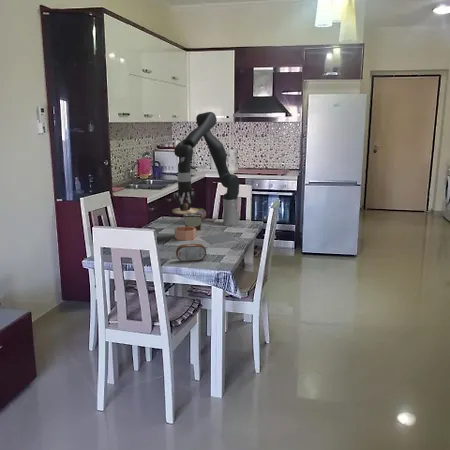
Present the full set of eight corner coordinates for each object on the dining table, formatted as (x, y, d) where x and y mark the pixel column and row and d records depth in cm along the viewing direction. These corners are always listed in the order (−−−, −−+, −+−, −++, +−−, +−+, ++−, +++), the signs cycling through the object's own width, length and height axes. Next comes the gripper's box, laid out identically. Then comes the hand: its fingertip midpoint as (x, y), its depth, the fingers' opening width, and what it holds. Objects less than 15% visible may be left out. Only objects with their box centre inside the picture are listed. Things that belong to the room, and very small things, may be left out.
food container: (204, 228, 295) (204, 212, 292) (202, 230, 289) (202, 215, 286) (185, 227, 296) (184, 212, 294) (183, 230, 290) (183, 214, 288)
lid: (192, 207, 277) (191, 200, 276) (202, 212, 264) (202, 204, 263) (168, 210, 270) (168, 202, 269) (178, 215, 257) (177, 206, 256)
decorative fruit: (208, 220, 314) (208, 206, 312) (202, 223, 307) (202, 208, 305) (197, 219, 319) (197, 205, 317) (190, 221, 312) (190, 207, 310)
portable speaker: (206, 259, 233) (205, 243, 231) (206, 261, 230) (206, 244, 228) (176, 260, 231) (175, 244, 229) (176, 262, 228) (176, 246, 226)
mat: (224, 234, 280) (224, 233, 280) (237, 241, 265) (237, 240, 265) (198, 237, 273) (198, 236, 272) (211, 244, 258) (211, 244, 258)
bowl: (191, 235, 279) (190, 225, 277) (198, 239, 269) (198, 229, 267) (172, 237, 274) (172, 227, 272) (180, 242, 263) (179, 232, 262)
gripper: (193, 178, 269) (193, 207, 273) (170, 180, 263) (171, 209, 267) (198, 180, 263) (199, 209, 267) (175, 182, 256) (176, 212, 260)
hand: (185, 209), depth 267 cm, fingers closed on lid, 3 cm apart
